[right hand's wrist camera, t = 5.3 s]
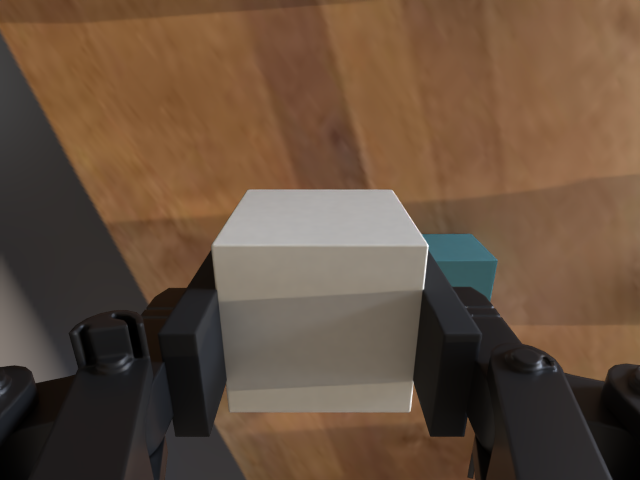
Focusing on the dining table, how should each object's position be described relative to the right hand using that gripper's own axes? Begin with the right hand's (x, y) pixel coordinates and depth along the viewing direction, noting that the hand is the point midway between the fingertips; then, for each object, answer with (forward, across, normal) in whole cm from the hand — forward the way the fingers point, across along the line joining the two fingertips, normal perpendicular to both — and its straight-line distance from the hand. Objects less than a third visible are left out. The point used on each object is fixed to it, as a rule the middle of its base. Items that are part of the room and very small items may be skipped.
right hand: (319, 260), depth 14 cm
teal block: (+17, -10, +8) cm, 21 cm away
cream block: (0, 0, 0) cm, 0 cm away
